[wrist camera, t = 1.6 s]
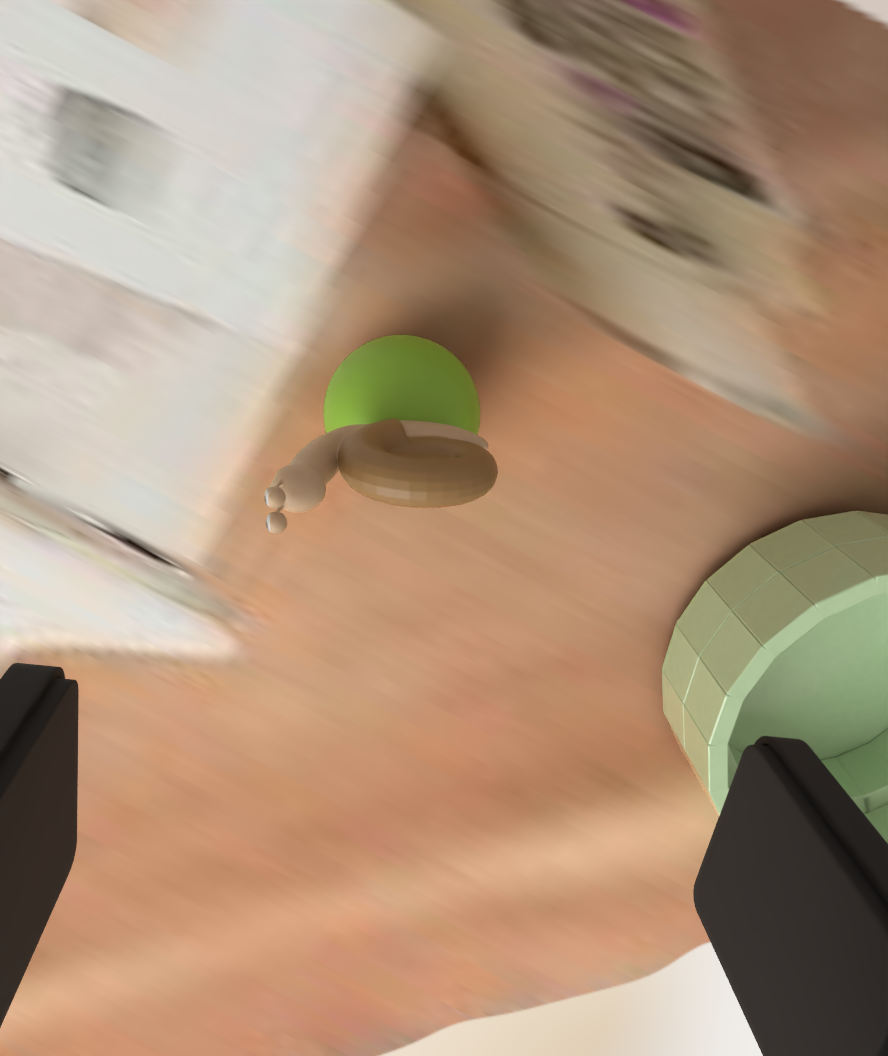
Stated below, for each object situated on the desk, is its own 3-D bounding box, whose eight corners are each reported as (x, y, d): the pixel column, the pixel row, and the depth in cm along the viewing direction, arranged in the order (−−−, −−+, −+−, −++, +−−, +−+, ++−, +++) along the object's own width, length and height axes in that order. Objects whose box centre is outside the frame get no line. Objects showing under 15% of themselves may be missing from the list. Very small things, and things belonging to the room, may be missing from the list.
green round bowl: (711, 485, 33) (779, 544, 28) (1023, 529, 35) (1144, 591, 30) (622, 770, 39) (664, 867, 33) (897, 794, 41) (980, 888, 35)
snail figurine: (297, 321, 29) (255, 402, 18) (473, 324, 30) (534, 404, 19) (303, 464, 31) (268, 614, 20) (467, 464, 32) (519, 610, 21)
